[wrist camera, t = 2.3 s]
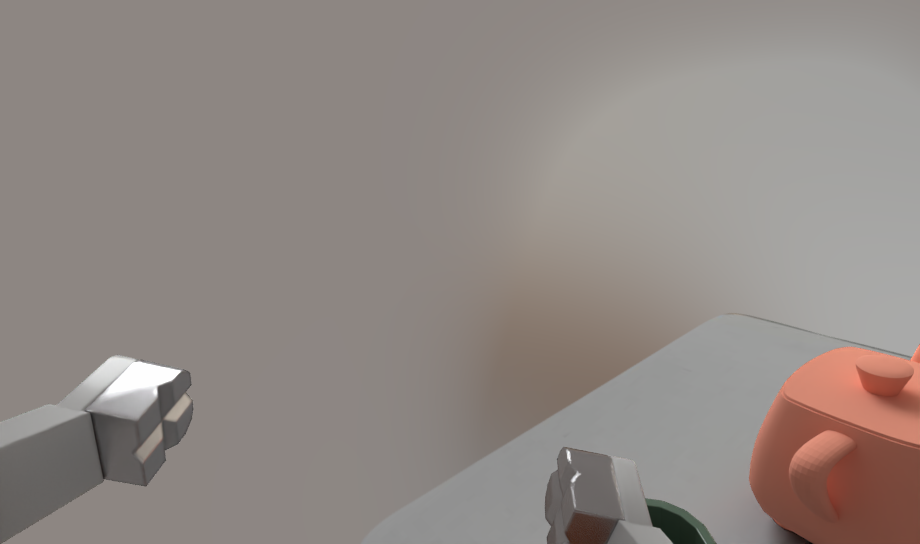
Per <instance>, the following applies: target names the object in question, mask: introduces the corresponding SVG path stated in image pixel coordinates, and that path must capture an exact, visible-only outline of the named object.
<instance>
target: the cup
mask: <svg viewBox="0 0 920 544" xmlns="http://www.w3.org/2000/svg"><path fill="white" fill-rule="evenodd" d="M645 500H646V504H647V508H648V511H649V515H650V519H651V522H652V526H653V527H656V528H660V529H661V530H662V531H663V533H664V534H665V535H666V536H667V537H668V538H669V539H670V541H671V542H672V543H673V544H716V542H715V541H714V539H713V537H712V536H711V534H710V533H709V531H708V530H707V528H706V527H705V526H704V524H702V523H701V522H700V521H699V520H697V519H696V518H695V517H694V516H692V515H691V514H690V513H688V512H687V511H685V510H684V509H681V508H679V507H677V506H674V505H672V504H669V503H667V502H665V501H661V500H654V499H646V498H645Z"/></svg>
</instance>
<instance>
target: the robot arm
mask: <svg viewBox="0 0 920 544" xmlns="http://www.w3.org/2000/svg"><path fill="white" fill-rule="evenodd" d="M190 386H191V377H190V373H189V372H188V371H186V370H184V369H179V368H175V367H171V366H166V365H162V364H157V363H153V362H149V361H144V360H138V359H133V358H129V357H125V356H121V355H117V356H113V357H111V358H109V359H108V360H107V361H106V362H104V363H103V364H102V365H101V366H100V367H99V368H98V369H96V371H94V372H93V373H92V374H91V375H90V376H89V377H88V378H86V379H85V380H84V381H83V382H82V383H81V384H80V385H78V386H77V387H76V388H75V389H74V390H73V391H72V392H71V393H70V394H69V395H67V396H66V397H65V398H64V399H63V400H62V401H61V402H60V403H58V404H57V405H56V406H55V405H50V404H48V405H45V406H43V407H40V408H37V409H34V410H32V411H29V412H26V413H24V414H21V415H18V416H15V417H13V418H10V419H7V420H4V421H2V422H0V544H1V543H3V542H5V541H6V540H8V539H10V538H11V537H13V536H15V535H16V534H18V533H20V532H21V531H23V530H25V529H26V528H28V527H29V526H31V525H33V524H34V523H36V522H38V521H39V520H41V519H43V518H44V517H46V516H48V515H49V514H51V513H53V512H54V511H56V510H58V509H59V508H61V507H63V506H64V505H66V504H68V503H69V502H71V501H72V500H74V499H76V498H77V497H79V496H80V495H82V494H84V493H85V492H87V491H89V490H90V489H92V488H94V487H96V486H97V485H99V484H101V483H102V482H103V481H104V479H106V480H112V481H118V482H123V483H130V484H135V485H141V486H147V485H148V483H149V482H150V481H151V479H152V478H153V477H154V475H155V474H156V473H157V471H158V470H159V469H160V467H161V466H162V464H163V463H164V462H165V461H166V458H165V450H167V449H169V448H171V447H173V446H175V445H177V444H178V443H179V442H180V441H181V439H182V438H183V436H184V435H185V434H186V431H187V429H188V427H189V424H190V422H191V419H192V413H193V400H192V399H191V398H190V396H189V395H188V394H187V393H186V391H187V389H188V388H189V387H190ZM557 464H558V470H557V471H555V472H553V473H552V474H551V476H550V479H549V482H548V486H547V491H546V497H545V518H546V520H547V521H548V523H549V524H550V525H551V528H550V531H549V533H548V536H547V544H673V543H672V542H671V541H670V539H669V538H668V537H667V536H666V535H665V534H664V533H663V531H662V530H661V529H660V528H656V527H653V526H652V522H651V519H650V515H649V511H648V508H647V504H646V500H645V497H644V493H643V489H642V486H641V482H640V478H639V475H638V471H637V467H636V464H635V463H634V461H633V460H630V459H625V458H619V457H614V456H607V455H603V454H598V453H593V452H588V451H583V450H577V449H572V448H567V447H563V448H562V450H561V451H560V453H559V456H558V458H557Z"/></svg>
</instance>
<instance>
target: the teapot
mask: <svg viewBox="0 0 920 544" xmlns="http://www.w3.org/2000/svg"><path fill="white" fill-rule="evenodd" d="M749 481H750V485H751V488H752V491H753V493H754V495H755V497H756V499H757V501H758V503H759V504H760V506H761V507H762V509H763V511H764V512H766V513H767V514H768V515H769V516H770V517H772V518H773V519H774V521H775V522H776V523H777V524H778V525H779V526H781V527H782V528H784V529H786V530H789V531H792V532H795V533H796V534H798V535H800V536H801V537H803V538H804V539H806V540H808V541H810V542H811V543H813V544H920V344H919V346H918V348H917V350H916V352H915V353H914V355H913V357H912V358H911V360H906V359H902V358H898V357H895V356H891V355H887V354H883V353H879V352H874V351H870V350H866V349H861V348H856V347H843V348H838V349H834V350H831V351H829V352H826V353H824V354H822V355H820V356H818V357H816V358H814V359H812V360H810V361H809V362H807V363H806V364H804V365H803V366H801V367H800V368H799V369H798V370H797V371H795V372H794V373H793V374H792V375H791V376H790V377H789V378H788V379H787V381H786V382H785V383H784V385H783V386H782V388H781V389H780V391H779V393H778V394H777V396H776V398H775V400H774V402H773V404H772V406H771V408H770V409H769V411H768V413H767V415H766V417H765V419H764V422H763V424H762V426H761V428H760V430H759V433H758V436H757V439H756V442H755V445H754V449H753V453H752V458H751V463H750V475H749Z"/></svg>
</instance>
